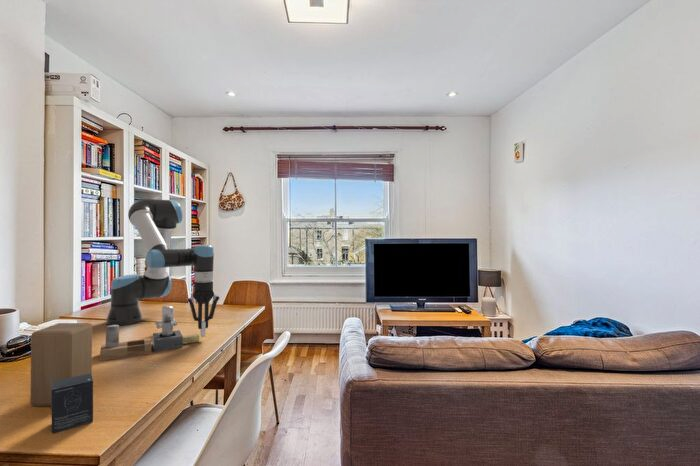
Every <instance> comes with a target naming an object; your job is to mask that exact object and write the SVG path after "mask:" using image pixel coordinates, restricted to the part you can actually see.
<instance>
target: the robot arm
mask: <svg viewBox="0 0 700 466" xmlns="http://www.w3.org/2000/svg"><path fill="white" fill-rule="evenodd" d="M127 216H128V217H127V218H128V220H129V222H130V224H131V225H132V226H133V227H135V228H136V231H137V233H138V235H139V236H140V238H141V240H142V242H143V244H144V245H145V248H146V250H147V253H146V255H145V261H146V265H147V269H146V270H145V271H143V276H139V275H138V274H136V273H135V274H134V273H133V274H127V275H120V276H117V277H115V278H113V279H112V280H111V284H110V309H109V312H108V314H107V316H106V320H105V321H106V323H105V324H106V325H107V326H110V325H119V326H126V325H133V324H137V323H139V322H141V321H142V320H143V316H142V311H141V309H140V307H139V300H145V299H146V300H147V299H154V298H162V297H165V296H168V295H169V294H170V291H171V289H172V278H171V276H170V275H169V272H167V268H176V267H178V268H179V267H192V266H193V270H194V275H193V280H194V283H193V293H192V296H190V297H187V299H186V300H187V302H188V303H189V307H190V310H191V314H192V319H193V321H194V322H195V321H196V322H197V328H198V329H199V330H200V337H201V338H205V337H206V329H208V328H209V321H210V320H212V319H213V318H214V314H215V310H216V307H217V303H218V301H219V300H220V296H218V295H216V294H215V292H214V281H213V280H214V261H215V260H214V255H215V254H214V253H215V252H214V246H213V245H209V244H198V245H195V246H194V247H193V248H190V247H188V248H179V249H178V248H177V249H176V248H175V249H171V241H172V236H173V235H172V234H173V230H175V229H177V224H181V223H182V221H183V209H182V206H181V204H180V203H179V202H178V201H176V200H170V199H156V198H141V199H139V200H137V201H135V202H134V203H132V205H131V206H130V208H129V209H128V215H127ZM211 300H212V303H211V307H209V305H210V301H211ZM194 301H196V302H197V312H196V308H195V304H194ZM203 304H204V314H203ZM209 309H210V310H209ZM203 315H204V318H203Z"/></svg>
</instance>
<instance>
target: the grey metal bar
mask: <svg viewBox="0 0 700 466" xmlns="http://www.w3.org/2000/svg"><path fill="white" fill-rule="evenodd" d="M161 313H162V314H161V321H162V328H161V332H162V338H163V337H170V336H173V331H174V326H173V319H174V306H173V305H164V306H162V311H161Z"/></svg>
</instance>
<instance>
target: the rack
mask: <svg viewBox="0 0 700 466" xmlns="http://www.w3.org/2000/svg"><path fill="white" fill-rule="evenodd" d="M147 354H152V340H151V338H142V339H135V340H128V341H120V325H107V326H105V344H101V346H100V350H99V361H100V362H102V361H108V360H115V359H120V358H126V357H127V358H128V357H136V356H142V355H147Z"/></svg>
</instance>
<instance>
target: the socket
mask: <svg viewBox="0 0 700 466" xmlns="http://www.w3.org/2000/svg"><path fill="white" fill-rule="evenodd" d="M183 336H184V335H183V333H181V330H179V329H178V330H173V336H170V337H163V338H162V331H160V332H154V333H152V348H153V353H154V352H155V353H156V352H162V351H167V350H168V351H169V350H174V349H182V348H183V345H184V344H183Z"/></svg>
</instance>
